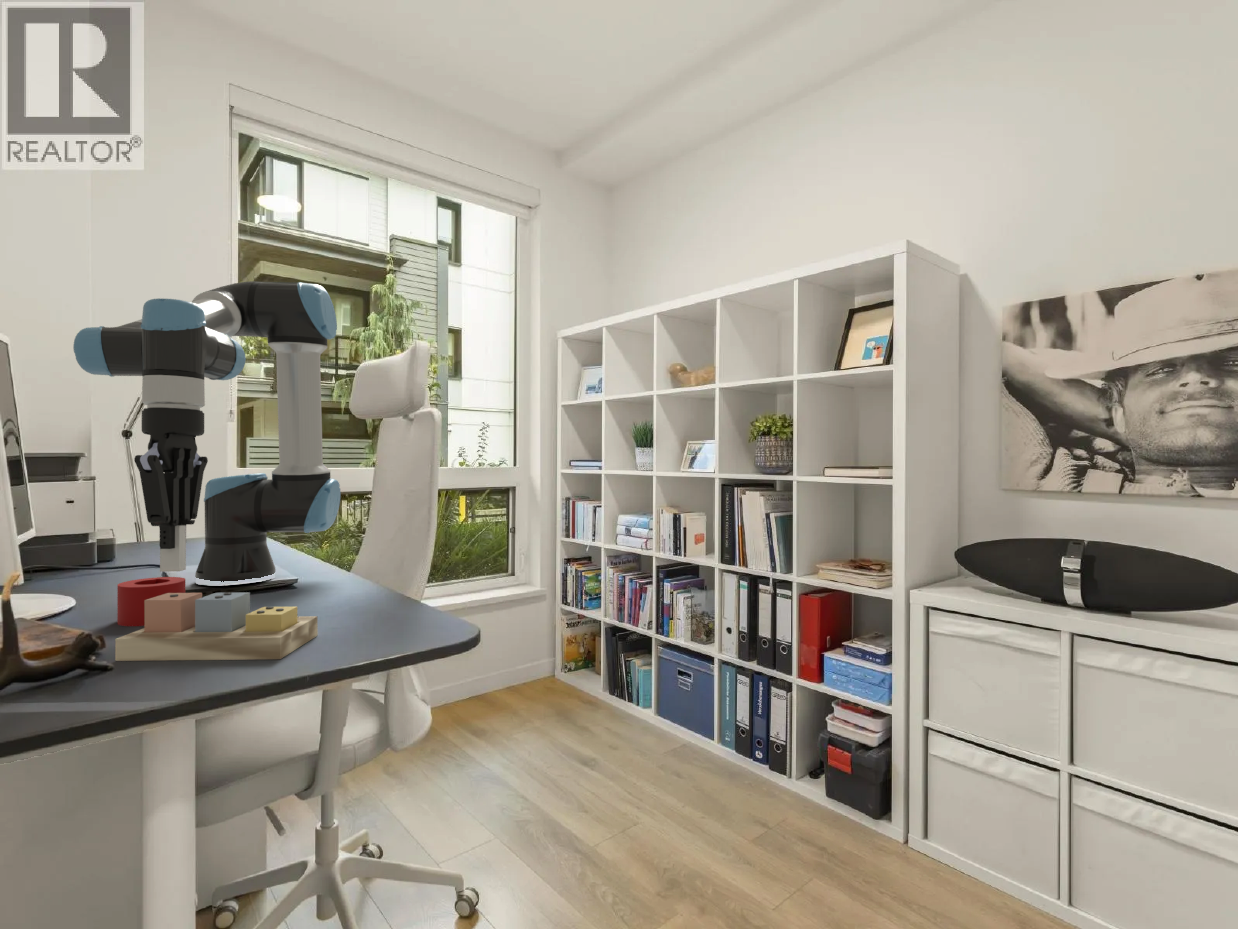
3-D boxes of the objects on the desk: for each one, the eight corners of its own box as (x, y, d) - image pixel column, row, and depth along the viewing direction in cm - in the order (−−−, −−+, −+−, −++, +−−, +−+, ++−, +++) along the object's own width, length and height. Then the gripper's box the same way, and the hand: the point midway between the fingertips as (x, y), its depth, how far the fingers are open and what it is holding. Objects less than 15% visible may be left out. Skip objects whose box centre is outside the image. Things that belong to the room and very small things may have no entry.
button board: (172, 636, 100) (172, 617, 100) (317, 635, 101) (317, 616, 101) (115, 660, 88) (115, 638, 88) (280, 659, 89) (280, 637, 89)
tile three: (263, 640, 97) (263, 605, 97) (297, 639, 97) (297, 605, 97) (245, 649, 92) (245, 613, 92) (281, 649, 92) (281, 613, 92)
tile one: (167, 626, 96) (167, 591, 96) (202, 626, 97) (202, 591, 96) (144, 635, 91) (144, 598, 91) (180, 635, 92) (180, 598, 91)
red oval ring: (174, 625, 107) (174, 585, 107) (107, 629, 104) (107, 588, 104) (207, 602, 125) (207, 568, 124) (149, 605, 122) (150, 570, 122)
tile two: (215, 626, 97) (215, 591, 97) (249, 625, 97) (249, 591, 97) (195, 635, 92) (195, 598, 92) (231, 634, 92) (231, 598, 92)
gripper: (176, 411, 100) (175, 564, 100) (113, 403, 87) (112, 578, 87) (225, 412, 100) (225, 563, 100) (171, 403, 87) (170, 578, 87)
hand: (173, 570), depth 94 cm, fingers closed
